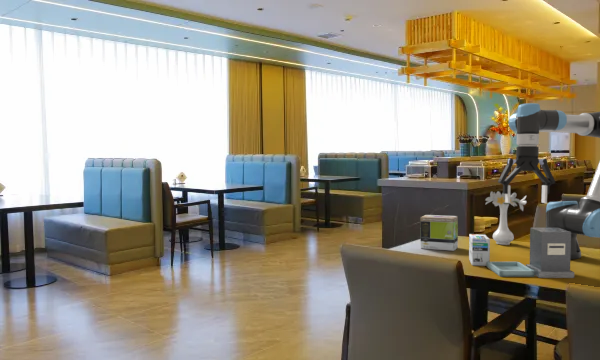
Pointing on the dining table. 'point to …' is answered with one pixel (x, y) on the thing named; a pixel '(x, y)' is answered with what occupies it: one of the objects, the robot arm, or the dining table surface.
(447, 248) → the tea box
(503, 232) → the flower vase
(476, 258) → the light bulb box
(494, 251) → the dining table surface
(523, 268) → the tray
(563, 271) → the control unit
